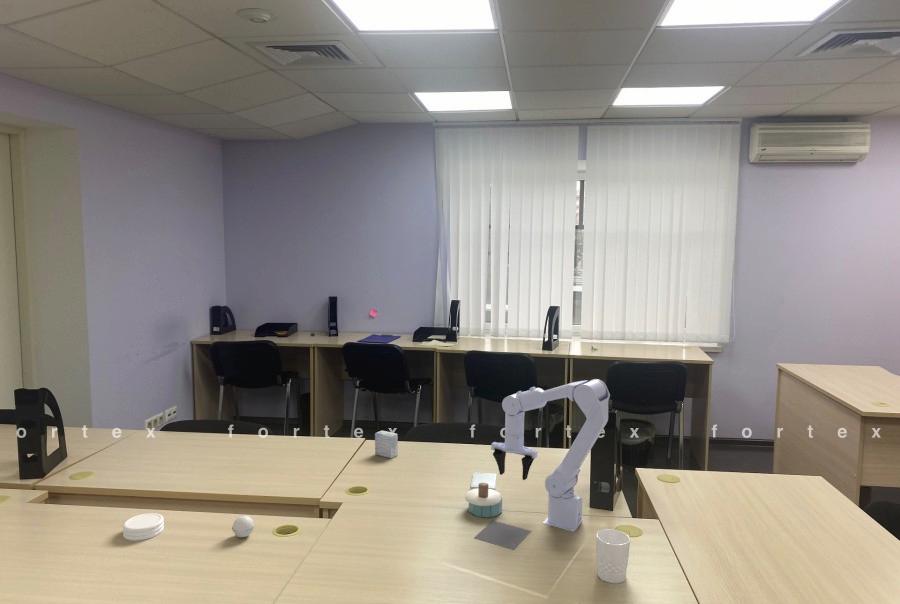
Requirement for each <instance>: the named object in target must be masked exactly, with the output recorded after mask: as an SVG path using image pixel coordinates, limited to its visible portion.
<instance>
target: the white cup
mask: <svg viewBox="0 0 900 604" xmlns="http://www.w3.org/2000/svg"><path fill="white" fill-rule="evenodd" d="M595 537H596V538H595V539H596V545H595V546H596V547H595V548H596V550H595V551H596V555H595V556H596V566H597V576H598V578H599V579H600V580H602V581H604V582H605V583H609V584H610V583H611V584H620V583H624V582H625V580H626V579H627V571H628V566H629V565H628V564H629V563H628V562H629V554H630V543H631V539H630V538H631V537H630V536H629V535H628V534H627V533H625V532H623V531H621V530H618V529H612V528H604V529H600V530H598V531H597V532H596V534H595Z"/></svg>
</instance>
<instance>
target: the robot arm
mask: <svg viewBox="0 0 900 604" xmlns="http://www.w3.org/2000/svg"><path fill="white" fill-rule="evenodd" d="M610 397H611V394H610V392H609V389H608V386H607V385H606V383H605V382H604V381H603V380H600V379H597V378H594V379H591V380H588V379H587V380H579V381H573V382H570V383H567V384H563V385H560V386H557V387H553V388H550V389H546V390H544V389H543V388H541V387H536V386H532V387H530V388H529V389H528V390H526V391H522V390H519V391H517V392H516V393H513V394H511V395H508V396H506V397H504V398H503V399H502V403H501V407H502V409H503V412H504V413H505V420H504V422H505V423H504V442H496V441H494V442H492V443H491V444H490V445H491V451H493V453H492V456H493V458H494V459H495V462H496V464H497V467H498V472H499V475H501V476H502V475H503V474H505V471H506V456H507V454H508V453H509V454H516V455H520V456H523V457H522V458H521V465H522V478H521V479H522V480H523V481H526V480H528V475H529V472H530V470H531V469H530V468H531V467H532V465H533V462H534V460H535V459H536V458H538V450H537V449H532V448H530V447H527V446H524V443H525V442H524V440H525V437H524V436H525V415H526V414H525V412H527V411H532V410H536V409H540V408H541V409H542V408H544V407H545V406H546V404H547V402H551V401H554V400H555V401H556V400H560V399H565V398H568V399H569V400H570V401H571V402H574V401H575V403H576V405H577V406H578V407H579V409H580V410H581V412H582V413H583V414H584V416H585V418H586V420H585V422H584V424H583V425H582V426H581V428H580V430H579V432H578V434H577V435H576V437H575V439H574V440H573V442H572V444H571V446H570V447H569V449H568V451H567V453H566V454H565V456H564V458H563V459H562V461H561V462H560V464H559V465H558V466H557V467H556V468H555V470H554V471H553V472H552V473H551V474H550V475H549V474H548V476H547V477H546V478H545V481H544V487H545V490H546V491H547V493H548V497H547V498H548V501H547V502H548V504H547V517H546V518H545V520H544V521H542V524H544V525H548V526H551V527H555V528H557V529H558V528H559V529H563V530H566V531H570V532H575V531H576V530H577V529H578V527H579V526H580V525H581V524H582V522H584V521H583V498H582V497H581V496H579V495H577V494H575V488H574V487H575V486H577V484H578V482H579V474H580V472H581V469H580V468H581V466H582V465H583V464H584V461H585V460H586V459H587V457H588V455H589V453H590V451H591V450H592V448H593V447H594V445H595V443H596V441H597V440H598V438H599V437H600V435H601V433H602V432H603V429H604V428H605V426H606V425H607V423H608V421H609V400H610Z"/></svg>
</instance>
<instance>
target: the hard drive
mask: <svg viewBox="0 0 900 604" xmlns="http://www.w3.org/2000/svg"><path fill="white" fill-rule="evenodd" d="M497 478H498V474H497V473H492V472H490V473H489V472H473V475H472V480H471V482H470V490H472V489H477V488H478V486H479V483H487V484H488V489H492V490H495V491H496V487H497V481H498V480H497Z"/></svg>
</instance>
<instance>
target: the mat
mask: <svg viewBox="0 0 900 604" xmlns="http://www.w3.org/2000/svg"><path fill="white" fill-rule="evenodd" d="M530 533H532V530H530V529H526V528H522V527H520V526H519V527H518V526H516V525H512V524H507V523H504V522H500V521H496V520H492V521H490V522H489V523H488V524H487V525H486V526H485V527H484V528H483V529H481V531H480V532H478V533H477V534H476V535H475V536H474V537H473V539H475V540H478V541H481V542H486V543H489V544H493V545H496V546H499V547H502V548H506V549H509V550H512V551H514V550H515V549H516V548H518V546H519V545H520V544H521V543H522V542H523V541H524V540H525V539H526V538H527V536H529V534H530Z"/></svg>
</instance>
